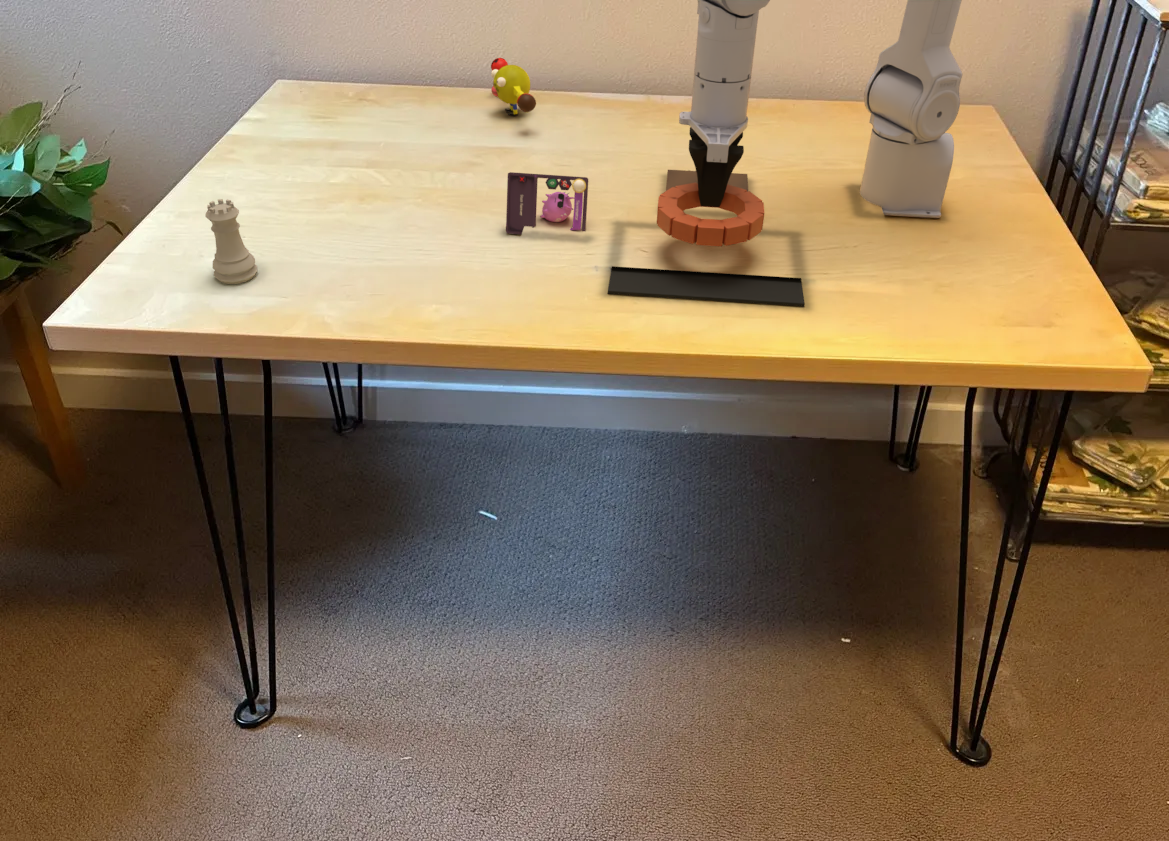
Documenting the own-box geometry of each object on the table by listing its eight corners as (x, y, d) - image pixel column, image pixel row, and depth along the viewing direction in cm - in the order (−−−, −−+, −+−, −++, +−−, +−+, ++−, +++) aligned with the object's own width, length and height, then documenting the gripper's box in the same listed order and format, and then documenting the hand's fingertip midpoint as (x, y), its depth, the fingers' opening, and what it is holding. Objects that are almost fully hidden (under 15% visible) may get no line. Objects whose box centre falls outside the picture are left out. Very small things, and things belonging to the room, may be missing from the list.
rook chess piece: (241, 260, 105) (226, 191, 100) (267, 273, 103) (252, 203, 98) (205, 276, 102) (187, 205, 97) (231, 290, 100) (213, 218, 95)
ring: (759, 202, 107) (762, 185, 106) (763, 249, 98) (766, 231, 97) (659, 196, 108) (660, 179, 106) (654, 242, 99) (655, 224, 98)
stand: (746, 181, 123) (751, 142, 120) (748, 216, 115) (753, 176, 112) (667, 176, 123) (669, 138, 120) (663, 211, 116) (666, 171, 113)
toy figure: (479, 94, 146) (476, 47, 142) (515, 90, 148) (513, 44, 143) (508, 138, 133) (506, 89, 129) (547, 134, 134) (546, 85, 130)
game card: (506, 172, 108) (587, 178, 107) (515, 169, 112) (592, 175, 112) (504, 234, 110) (583, 240, 109) (513, 228, 115) (589, 234, 114)
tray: (793, 234, 111) (794, 231, 111) (804, 306, 99) (804, 303, 98) (619, 224, 113) (619, 221, 113) (607, 294, 100) (607, 290, 100)
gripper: (684, 49, 104) (675, 170, 112) (680, 96, 92) (671, 227, 101) (751, 52, 103) (737, 173, 112) (755, 100, 92) (739, 231, 100)
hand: (710, 199), depth 106 cm, fingers closed on ring, 2 cm apart
